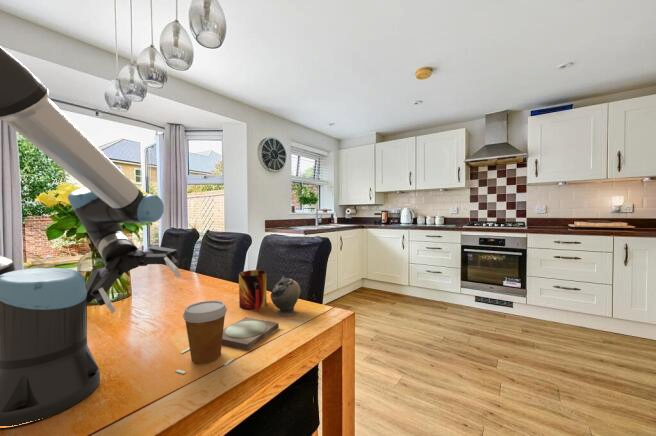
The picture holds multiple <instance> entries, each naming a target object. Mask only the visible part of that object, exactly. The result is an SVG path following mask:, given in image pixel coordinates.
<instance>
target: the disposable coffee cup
mask: <svg viewBox="0 0 656 436" xmlns="http://www.w3.org/2000/svg"><path fill="white" fill-rule="evenodd" d="M227 311H228V307H227V306H226V303H225V302H224V301H221V300H204V301H203V300H202V301H200V302H196V303H192V304H189V305H188V306H187V307H186V306H185V308H184V312H183V313H182V318H183V320H184V322H185V328H186V334H187V339H188V346H189V347H188V348H190V350H189V352H190V357H191V362H192V363H193V364H197V365H202V364H203V365H204V364H208V363H211V362H215V360H217V359H219V358H220V356H221V353H222V337H223V329H225V328H224V327H225V325H224V324H225V320H226V319H225V317H226V314H227Z"/></svg>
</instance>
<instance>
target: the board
mask: <svg viewBox="0 0 656 436" xmlns="http://www.w3.org/2000/svg"><path fill="white" fill-rule="evenodd" d="M279 328H280V327H279V322H274V321H269V320H264V319H259V318H253V317H246V316H245V317H244V318H241V319H240V320H238V321H236V322H234V323H232V324H230V325H228V326H227V327H225V328H223V337H222V345H223V346H226V347H231V348H235V349H239V350H244V351H248V350H250V349H251V348H253V347H254V346H255V345H257V344H258V343H260V342H261V341H263V340H264V339H266V338H267V337H268V336H270V335H271V334H273V333H274V332H275V331H277V330H278V329H279Z"/></svg>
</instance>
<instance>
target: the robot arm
mask: <svg viewBox="0 0 656 436" xmlns="http://www.w3.org/2000/svg"><path fill="white" fill-rule="evenodd" d="M49 93H50V90H49V89H48V87H47V86H46V85H45V84H44V83H43V82H42V81H41V80H40V79H39V78H38V77H37V76H36V75H34V73H33V72H31V70H29V69H28V68H27V66H25V65H24V64H23V63H22V62H21V61H19V60H18V59H17V58H16V57H15V56H14V55H13V54H11V53H10V52H8V51H7V50H5V49H4V48H3V47H2V46H1V45H0V120H1V121H3V122H4V123H6V124H7V125H8V126H10V127H11V128H12V129H13V130H14V131H16V132H17V133H18V134H19V135H20V136H22V137H23V138H24V139H26V140H27V141H28V142H29V143H31V144H32V145H33V146H34V147H36V148H37V149H38V150H39V151H40V152H42V154H44V155H45V156H47V157H48V158H49V159H51V160H52V161H53V162H55V164H56V165H58V166H59V167H60V168H61V169H62V170H64V172H66V173H68V175H70V176H71V177H73V178H74V179H75V180H76V181H78V182H79V183H80V184H82V186H84V187H81V188H77V189H75V190H73V191H71V192H70V193H69V194H68V195H67V200H68V203H69V204H70V206H71V208H72V211H73V212H74V214H75V215H76V216H77V218H78V220H79V221H80V222H81V225H82V226H83V228H84V230H85V231H86V234H88V235H87V236H88V237H89V239H90V242H91V243H92V244H93V246H94V247H95V248H96V250H97V251H98V253H99V254H100V256H101V258H102V260H103V261H104V263H105V266H103V267H102V268H98V267H94V268H92V269H91V270H90V271H91V272H90V273H91V275H90V276H89V278H88V280H87V282H86V280H85V277H84V274H82V273H81V272H80V271H78V270H75V269H70V268H63V267H48V268H47V267H45V268H44V267H37V268H34V267H33V268H26V269H18V270H16V268H15V264H14V262H13V260H12V259H11V258H9V257H5V256H3V255H0V426H12V425H13V426H14V425H19V424H22V423H26V422H30V421H35V420H38V419H42V418H45V419H47V418H49V417H48V416H50V417H52V416H55V415H57V414H60V413H62V412H64V411H65V410H67V409H69V408H71V407H73V406H75V405H76V404H78V403H80V402H81V401H83V400H85V398H87V397H88V396H90V395H91V394H92V393H93V392H94V391H95V390H96V389H97V388H98V387H99V384H100V382H101V379H100V376H101V375H100V374H101V373H100V368H99V365H98V363H97V362H96V359H95V357H94V356H93V354H92V352H91V350H90V348H89V346H88V304H89V303H92V302H93V300H95V301H96V303H97V304H98V306H103V305H106V307H107V309H108V311H110V313H111V314H114V313H115V312H117V311H116V309H115V307H114V305H113V303H112V301H111V299H110V297H109V295H108V294H107V293H108V291H109V290H110V289H111V287H112V286H113V285H114V283H116V281H117V280H119V279H121V278H122V276H123V275H124V273H125V274H126V273H128V272H130V271H131V270H133V269H136V268H139V267H147V266H149V265H166V266H167V268H168V269H169V270H170V271H171V272H172V273H173V274H174V275H175V276H176V278H180V277H182V275H181V273H180V272H181V271H179V268H178V267H179V263H178V260H179V259H180V258H181V257H180V256H181V255H180V253H179V251H178V249H175V248H168V247H163V246H156V245H154V244H152V243H149V244H148V245H147V248H146V249H143V250H142V249H139V248H138V247H137V246H136V244H135V243H134V242H133V241H132V240H131V238H130V237H129V236H128V235H127V234H126V232H125V230H124V229H123V227H122V225H121V223H122V224H128V223H129V224H146V223H148V224H149V223H155V222H158V221H159V220H160V219H162V216H163V214H164V210H165V208H164V207H165V206H164V203H163V200H162V199H161V198H160V197H159V196H158V195H156V194H151V193H146V194H145V193H143V192H142V190H141V189H139V188H138V186H136V185H135V183H133V182H132V181H131V180H130V178H128V177H127V175H126V174H125V173H123V172H122V170H121V169H120V168H119V167H118V166H117V165H116V164H115V163H113V161H112V160H110V158H109V157H108V156H107V155H105V153H104V152H103V151H102V150H101V149H100V148H99V147H98V146H97V145H95V143H94V142H93V141H92V140H91V139H90V138H89V137H88V136H87V135H86V134H85V133H84V132H83V131H82V130H81V129H80V128H79V127H78V126H77V125H76V124H75V123H74V122H73V121H72V120H71V119H70V118H69V117H68V116H67V115H66V114H65V113H64V112H63V111H62V110H61V109H60V108H59V107H58V106H57V105H56V104H55V103H54V102H53V101H52V100H51V99H50V98H49V97H50V96H49V95H50V94H49ZM63 410H64V411H63ZM56 413H57V414H56ZM54 414H55V415H54ZM46 417H47V418H46ZM42 420H43V419H42Z"/></svg>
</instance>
